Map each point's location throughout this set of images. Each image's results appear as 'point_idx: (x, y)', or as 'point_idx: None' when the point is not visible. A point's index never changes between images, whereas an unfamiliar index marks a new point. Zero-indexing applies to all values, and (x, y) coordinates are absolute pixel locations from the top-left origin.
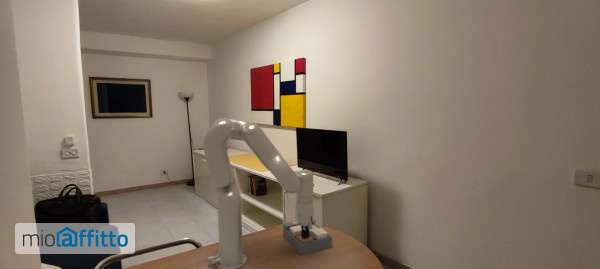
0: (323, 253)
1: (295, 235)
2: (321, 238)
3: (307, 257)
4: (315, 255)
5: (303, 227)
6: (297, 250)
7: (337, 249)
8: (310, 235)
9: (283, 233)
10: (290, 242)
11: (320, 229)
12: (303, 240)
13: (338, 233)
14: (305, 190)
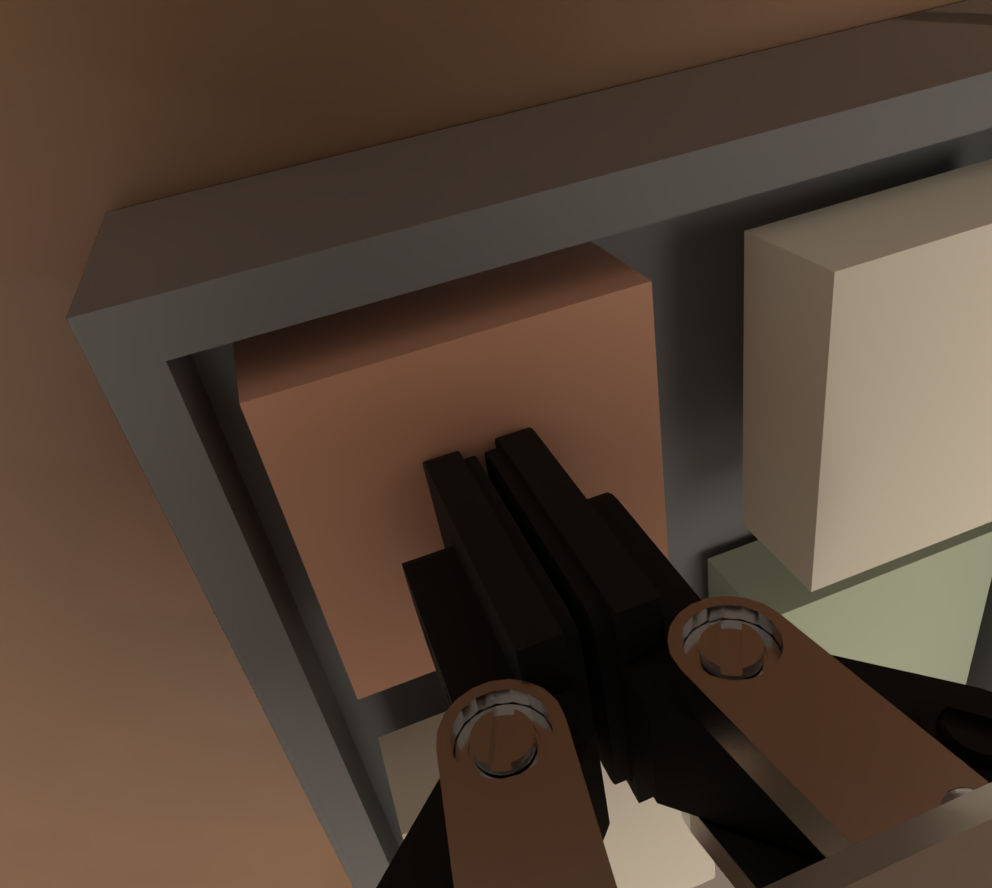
0: (171, 664)
1: (753, 260)
2: (366, 832)
3: (19, 357)
4: (104, 529)
5: (571, 792)
6: (299, 174)
7: (276, 842)
8: (705, 578)
9: None
10: (714, 77)
11: (658, 872)
12: (317, 454)
13: None
14: None
